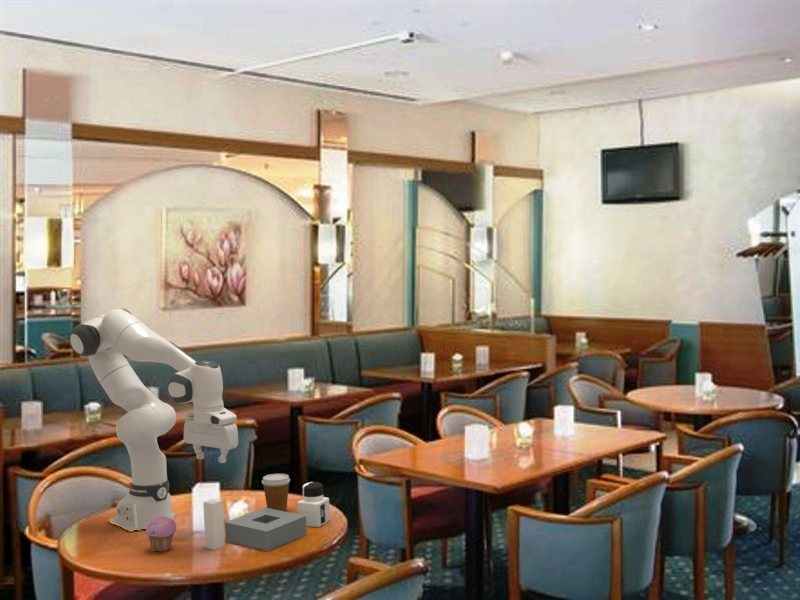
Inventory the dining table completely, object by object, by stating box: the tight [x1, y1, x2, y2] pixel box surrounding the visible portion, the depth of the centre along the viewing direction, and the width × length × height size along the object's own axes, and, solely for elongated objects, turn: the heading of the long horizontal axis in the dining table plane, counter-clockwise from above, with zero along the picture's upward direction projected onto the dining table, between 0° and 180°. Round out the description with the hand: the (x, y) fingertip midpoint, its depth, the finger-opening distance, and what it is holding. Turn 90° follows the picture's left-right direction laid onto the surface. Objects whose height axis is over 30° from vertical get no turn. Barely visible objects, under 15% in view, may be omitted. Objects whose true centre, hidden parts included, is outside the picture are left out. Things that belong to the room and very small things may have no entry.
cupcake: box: [145, 516, 177, 552], centre depth 272 cm, size 9×9×10 cm
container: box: [296, 481, 331, 528], centre depth 293 cm, size 8×8×13 cm
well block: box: [224, 507, 307, 552], centre depth 280 cm, size 18×18×6 cm
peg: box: [202, 498, 225, 551], centre depth 273 cm, size 4×4×14 cm
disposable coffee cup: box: [261, 473, 291, 512], centre depth 307 cm, size 10×10×12 cm
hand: (211, 460), depth 271 cm, fingers open, 8 cm apart
